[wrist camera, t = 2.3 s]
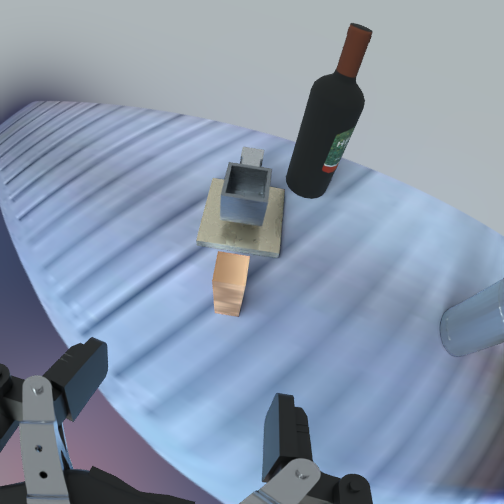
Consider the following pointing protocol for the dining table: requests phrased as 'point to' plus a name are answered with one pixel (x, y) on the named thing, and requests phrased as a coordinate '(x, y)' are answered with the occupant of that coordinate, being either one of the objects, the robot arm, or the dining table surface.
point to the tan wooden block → (229, 282)
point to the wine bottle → (329, 120)
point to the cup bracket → (244, 209)
